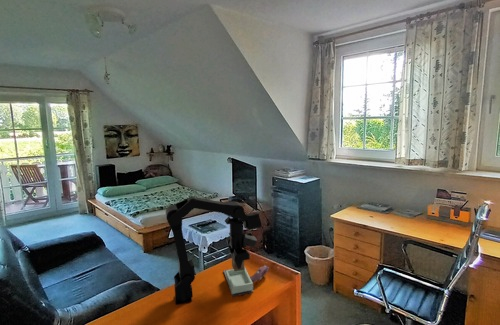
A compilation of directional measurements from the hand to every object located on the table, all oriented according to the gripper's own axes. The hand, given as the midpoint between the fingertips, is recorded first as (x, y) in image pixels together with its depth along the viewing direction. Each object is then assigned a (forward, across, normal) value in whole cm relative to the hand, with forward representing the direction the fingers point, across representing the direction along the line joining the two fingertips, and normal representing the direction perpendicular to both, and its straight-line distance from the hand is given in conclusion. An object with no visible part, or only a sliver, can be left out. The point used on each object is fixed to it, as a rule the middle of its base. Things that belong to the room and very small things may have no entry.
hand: (238, 265), depth 127 cm
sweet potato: (+10, +3, -10) cm, 15 cm away
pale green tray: (+10, 0, 0) cm, 10 cm away
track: (+10, +4, 0) cm, 10 cm away
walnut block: (+1, 0, 0) cm, 1 cm away
